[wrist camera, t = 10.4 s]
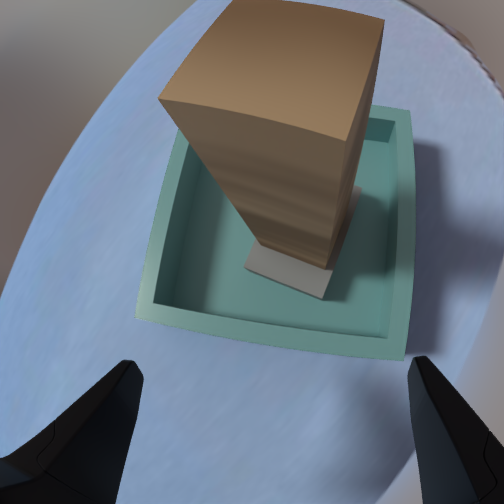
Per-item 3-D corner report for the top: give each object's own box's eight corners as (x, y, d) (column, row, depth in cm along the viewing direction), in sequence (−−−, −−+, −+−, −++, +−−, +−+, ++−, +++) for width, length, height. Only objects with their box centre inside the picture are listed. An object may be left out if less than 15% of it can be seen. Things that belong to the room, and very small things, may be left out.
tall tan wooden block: (321, 300, 17) (343, 232, 4) (249, 271, 18) (107, 155, 5) (359, 198, 18) (407, -2, 5) (290, 174, 19) (244, -26, 6)
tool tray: (387, 354, 17) (403, 361, 13) (162, 319, 20) (134, 317, 16) (398, 140, 19) (409, 110, 16) (204, 126, 22) (188, 99, 19)
